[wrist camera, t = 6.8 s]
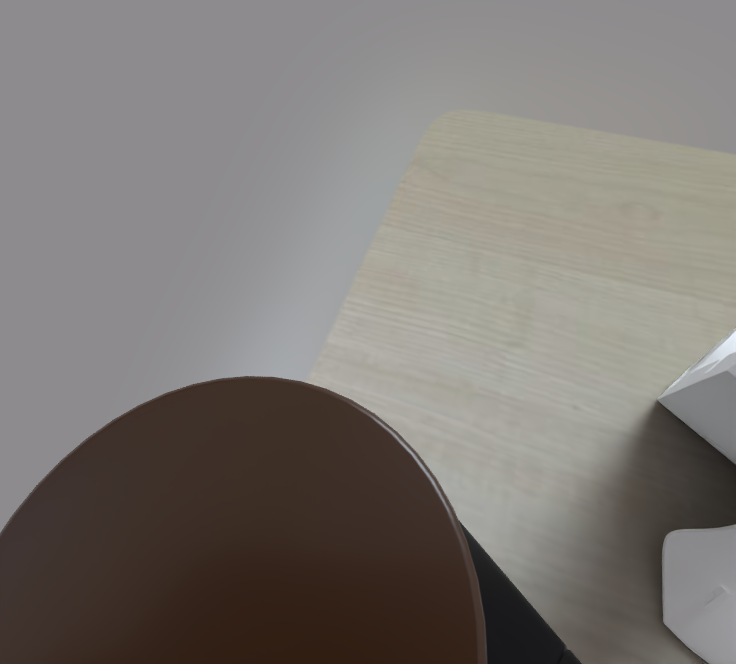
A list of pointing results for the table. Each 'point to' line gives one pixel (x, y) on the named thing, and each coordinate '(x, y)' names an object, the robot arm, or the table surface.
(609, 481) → the table surface
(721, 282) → the table surface
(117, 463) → the brown and grey cylinder
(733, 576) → the plastic part
